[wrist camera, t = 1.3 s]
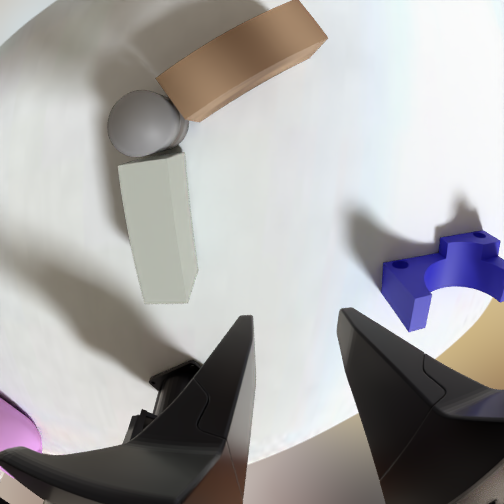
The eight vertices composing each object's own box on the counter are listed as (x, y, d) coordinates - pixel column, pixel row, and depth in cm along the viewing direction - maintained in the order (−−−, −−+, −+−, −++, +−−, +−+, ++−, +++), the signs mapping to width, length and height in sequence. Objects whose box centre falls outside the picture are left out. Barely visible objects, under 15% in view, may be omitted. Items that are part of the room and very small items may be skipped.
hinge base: (156, 160, 19) (131, 170, 15) (128, 120, 18) (96, 120, 14) (312, 62, 17) (332, 43, 12) (282, 21, 16) (293, -7, 11)
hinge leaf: (134, 103, 17) (105, 98, 13) (186, 94, 17) (169, 84, 13) (157, 271, 23) (139, 304, 18) (203, 269, 23) (194, 303, 18)
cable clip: (481, 229, 22) (520, 254, 17) (475, 270, 24) (509, 298, 18) (383, 245, 23) (417, 279, 17) (380, 291, 24) (408, 332, 19)
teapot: (-6, 417, 38) (-29, 459, 24) (-23, 372, 31) (-57, 424, 17) (72, 466, 43) (57, 515, 29) (75, 437, 36) (51, 503, 22)
